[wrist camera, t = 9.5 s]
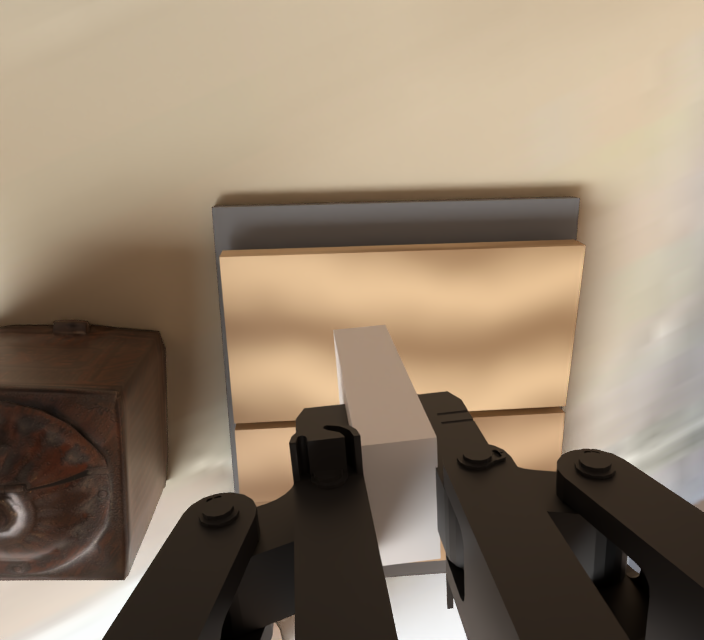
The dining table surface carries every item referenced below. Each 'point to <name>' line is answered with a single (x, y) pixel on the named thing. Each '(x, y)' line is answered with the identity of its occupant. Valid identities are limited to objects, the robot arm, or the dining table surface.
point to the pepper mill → (79, 448)
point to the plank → (403, 320)
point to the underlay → (385, 229)
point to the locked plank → (496, 425)
